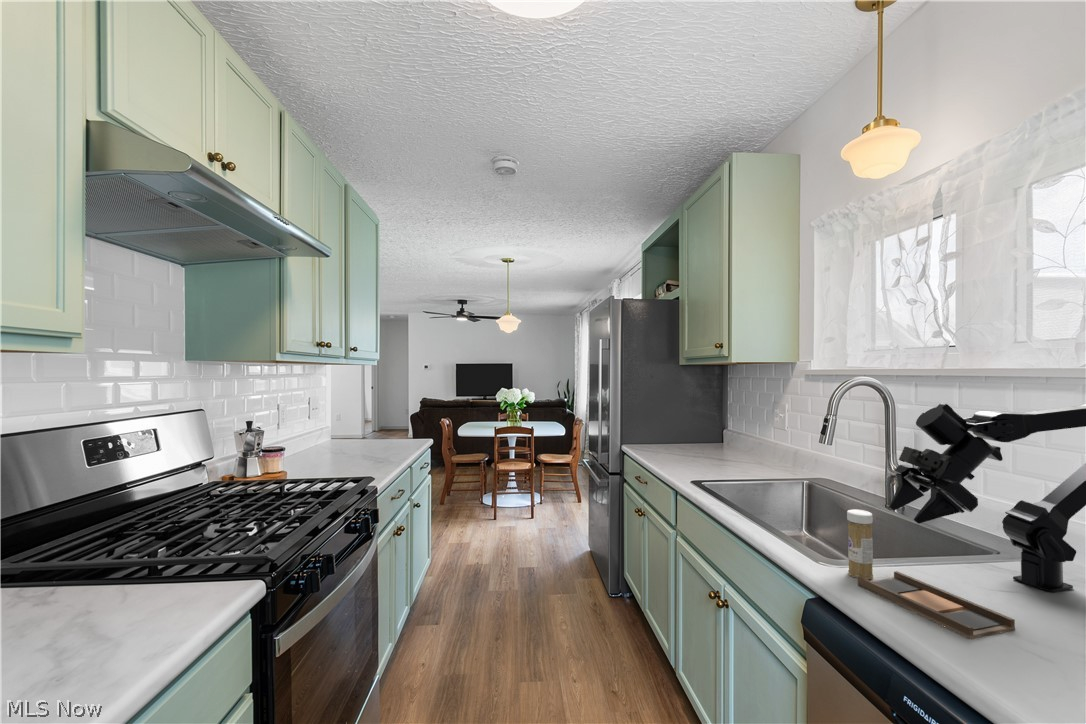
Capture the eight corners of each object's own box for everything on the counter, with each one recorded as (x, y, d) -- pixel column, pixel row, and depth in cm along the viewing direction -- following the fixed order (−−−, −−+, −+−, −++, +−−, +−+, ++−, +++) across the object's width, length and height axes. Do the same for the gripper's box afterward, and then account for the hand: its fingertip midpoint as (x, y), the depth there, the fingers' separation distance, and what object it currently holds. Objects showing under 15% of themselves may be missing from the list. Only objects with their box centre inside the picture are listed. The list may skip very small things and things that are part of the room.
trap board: (897, 579, 104) (896, 571, 104) (1014, 629, 84) (1014, 619, 84) (857, 585, 102) (857, 576, 102) (969, 638, 82) (969, 628, 82)
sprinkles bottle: (843, 572, 108) (841, 509, 109) (863, 571, 109) (861, 508, 109) (858, 581, 104) (857, 515, 104) (879, 579, 104) (877, 514, 105)
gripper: (901, 428, 114) (851, 478, 115) (956, 439, 95) (895, 499, 97) (942, 462, 112) (890, 512, 114) (1006, 481, 94) (943, 541, 95)
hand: (902, 515), depth 105 cm, fingers open, 9 cm apart
